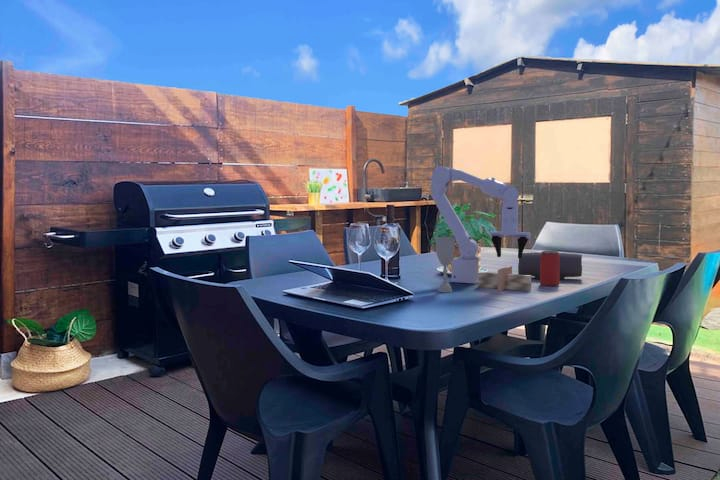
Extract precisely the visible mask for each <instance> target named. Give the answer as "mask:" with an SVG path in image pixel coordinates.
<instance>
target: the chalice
mask: <svg viewBox="0 0 720 480" xmlns="http://www.w3.org/2000/svg"><path fill="white" fill-rule="evenodd" d="M434 240H435V254H436V257H437V259H438V261H439V263H440V264H441V266H443V270H442V272H443V275H442V278H443V281H442V283H440V284H439V287H438V288H437V292H441V293H451V292H453V289H452V286H451V284H450V283H448V281H447V279H448V278H449V277H448V268H447V266H449V265H450V263H452V261H453V259H454V256H455V252H456V251H455V247H456V246H455V241H456V238H455V236H454V237H453V236H438V237H437V236H435V237H434Z"/></svg>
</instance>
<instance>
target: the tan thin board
mask: <svg viewBox="0 0 720 480" xmlns="http://www.w3.org/2000/svg"><path fill="white" fill-rule="evenodd" d="M497 273H498V288H497V291H499V292H502V291H504V290H506V289H505V282H506V281H508V274H513V266H512V265H508V266H505V267H502V268H499V269H497Z"/></svg>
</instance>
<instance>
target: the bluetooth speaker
mask: <svg viewBox="0 0 720 480" xmlns="http://www.w3.org/2000/svg"><path fill="white" fill-rule="evenodd" d="M541 254H542V251H541V252H537V251H536V252H523V253H522V258H518V266H517V268H518V269H517V270H518V272H517V273H518V275H531V277H534V279H539V280H540V257H541ZM558 254H559V257H560V277H559V280H564V279H565V278H579V277H580V278H581V277H582V275H583V265H582V264H583V263H582V262H583V261H582V259H583V254H579V253H569V252H567V253H565V252H558Z"/></svg>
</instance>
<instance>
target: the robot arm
mask: <svg viewBox="0 0 720 480" xmlns="http://www.w3.org/2000/svg"><path fill="white" fill-rule="evenodd" d="M458 181H461V182H464V183H466V184H470V185H472V186H474V187H479V188H480V189H481V192H482V193H483V194H486V195H487V196H491V197H494V198H497V199H499V200H500V199H502V206H501V231H496V230H495V231H494V230H491V231H489V234H488V235H489V238H491V242H492V243H493V246H494V249H495V252H496V257H497V258H501V257H502V239H503V238H517V250H518V251H517V252H518V253H517V258H518V259H519V258H522V253H524V249H525V246H526V245H527V243H528V241H529V239H531V232H527V231H526V232H525V231H519V206H518V205H519V201H518V199H519V196H520V195H519V191H518V189H517V188H516V187H514V186H512V185H509V183H508V182H505V183H504V182H501V181H498V180H497V179H496V178H495V177H491V178H490V177H487V178H484V179H483V178H481V177H478V176H475V175H473V174H471V173H468V172H465V171H464V170H462V169H456V168H451V167H448V166H443V165H440V166H437V167H436V168H435V169H434V170H433V173H432V175H431V176H430V196H431V198H432V200H433V202H434V204H435V206H436V208H437V209H438V211H439V212H440V214H441V216H442V217H443V219H444V222H445V223H446V224H447V227H448V228H449V229H450V230H449V231H450V232H451V233H452V234H453V236H454V237H455V238H456V239H455V241H456V243H457V246H458V252H459V255H458V257H453V258H452V260H451V280H450V282H451V283H462V284H463V283H465V284H478V273H479V265H480V264H479V261H480V260H479V259H480V258H479V255H477V252H478V250H479V244H478V242H477V241H476V240H475V239H473V238H472V237H471V234H469V232H468V231H467V229H466V228H465V226H464V225H463V222H462V221H461V219H460V218H459V216H458V214H457V212H456V210H455V209H454V207H453V206H452V204H451V203H450V200H449V199H448V197H447V195H446V192H447V188H448V186H449V184H450V182H458Z"/></svg>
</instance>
